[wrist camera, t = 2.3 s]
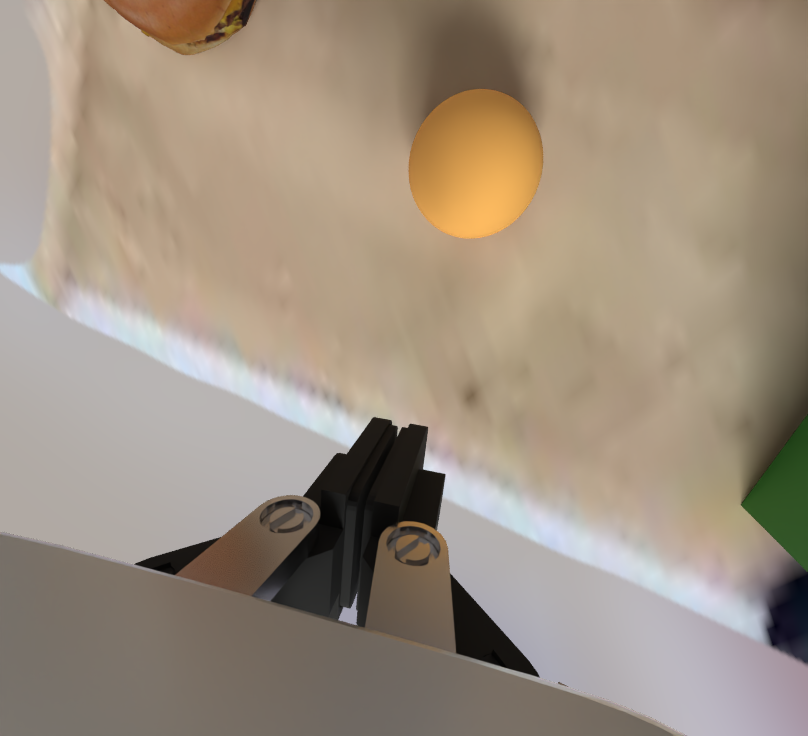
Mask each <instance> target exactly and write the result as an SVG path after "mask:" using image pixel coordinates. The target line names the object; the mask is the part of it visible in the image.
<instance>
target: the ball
mask: <svg viewBox="0 0 808 736" xmlns="http://www.w3.org/2000/svg"><path fill="white" fill-rule="evenodd" d="M542 167H543V147H542V141H541V137H540V133H539V131H538V128H537V126H536V124H535V122H534V120H533V118H532V116H531V115H530V113H529V112H528V111H527V110H526V109H525V107H524V106H523V105H521V104H520V103H519V102H518V101H517V100H515V99H514V98H512V97H511V96H509V95H507V94H504V93H502V92H499V91H495V90H489V89H473V90H468V91H464V92H461V93H458V94H456V95H454V96H452V97H450V98H448V99H446V100H445V101H443V102H442V103H441V104H439V105H438V106H437V107H436V108H435V109H434V110H433V111H432V112H431V113H430V114H429V115H428V117H427V118H426V119H425V121H424V122H423V123H422V125H421V126H420V128H419V130H418V132H417V134H416V136H415V139H414V141H413V144H412V148H411V152H410V158H409V182H410V187H411V192H412V195H413V198H414V200H415V202H416V204H417V206H418V208H419V210H420V211H421V213H422V214H423V215H424V216H425V218H426V219H427V220H428V221H429V222H430V223H431V224H432V225H433V226H435V227H436V228H438V229H439V230H441V231H442V232H444V233H447V234H449V235H452V236H455V237H460V238H481V237H485V236H489V235H492V234H494V233H497V232H499V231H501V230H502V229H504V228H506V227H507V226H509V225H510V224H512V223H513V222H514V221H515V220H516V219H517V218H518V217H519V216H520V215H521V214H522V213H523V212H524V211H525V209H526V208H527V207H528V205H529V204H530V202H531V200H532V199H533V197H534V195H535V193H536V190H537V187H538V185H539V182H540V178H541V174H542Z"/></svg>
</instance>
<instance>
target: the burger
mask: <svg viewBox="0 0 808 736" xmlns="http://www.w3.org/2000/svg"><path fill="white" fill-rule="evenodd" d="M104 1H105V2H106V3H107V4H108V5H109V6H111V7H112V8H113V9H115V10H116V11H117V12H118V13H119V14H120V15H121V16H122V17H124V18H125V19H126V20H128V21H129V22H130V23H132V24H133V25H135V26H136V27H138V28H139V29H141V31H142V32H143V33H144V34H145V35H147V36H148V37H149V36H150V37H152V38H154V39H155V40H156V41H158V42H159V43H161V44H162V45H164V46H166V47H168V48H170V49H172V50H174V51H175V52H177V53H180V54H182V55H193V54H196V53H200V52H203V51H206V50H209V49H211V48H213V47H216V46H218V45H219V44H221V43H223V42H224V41H226V40H228V39H229V38H230V37H231V36H232V35H233V34H235V33H236V32H238V31H239V30H240V29H241V28H243V27H244V26H246V24H247V22H248V19H249V17H250V15H251V13H252V11H253V8H254V5H255V2H256V0H104Z"/></svg>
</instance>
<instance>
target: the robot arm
mask: <svg viewBox="0 0 808 736" xmlns="http://www.w3.org/2000/svg"><path fill="white" fill-rule="evenodd" d="M397 430H398V427H397V426H394V425H392V421H391V420H387V419H381V418H376V417H373V418H372V420H371V421H370V423H369V424H368V425H367V427H366V428H365V430H364V431H363V432H362V434H361V435H360V436H359V438H358V439H357V441H356V442H355V443H354V445H353V446H352V448H351V449H350V450H349V452H348V453H347V454H342V453H337V454H336V455H335V456H334V457H333V459H332V460H331V461H330V462H329V464H328V465H327V466H326V467H325V469H324V470H323V471H322V473H321V474H320V475H319V476H318V478H317V479H316V480H315V482H314V483H313V484H312V485H311V487H310V488H309V489H308V491H307V492H306V493H305V494H304V496H303V497H302V496H295V495H286V496H281V497H276V498H273V499H270V500H268V501H266V502H265V503H263V504H261V505H260V506H259V507H258V508H256V509H255V510H254V511H253V512H251V513H250V514H249V515H248V516H247V517H245V518H244V519H243V520H242V521H241V522H239V523H238V524H237V525H236V526H235V527H233V528H232V529H231V530H229V531H228V532H227V533H226V534H225V535H223V536H222V537H220V538H216V539H213V540H209V541H206V542H202V543H199V544H196V545H192V546H189V547H185V548H182V549H179V550H175V551H172V552H169V553H165V554H162V555H158V556H155V557H151V558H149V559H146V560H143V561H141V562H138V563H136V564H130V563H126V562H123V561H119V560H115V559H111V558H108V557H104V556H100V555H96V554H93V553H88V552H85V551H81V550H77V549H74V548H70V547H66V546H62V545H58V544H53V543H49V542H44V541H40V540H35V539H31V538H27V537H22V536H18V535H14V534H9V533H4V532H0V736H686V735H684V734H682V733H680V732H678V731H676V730H674V729H672V728H671V727H668V726H666V725H665V724H662V723H661V722H659V721H657V720H654V719H653V718H651V717H648V716H646V715H643V714H641V713H639V712H636V711H634V710H631V709H629V708H627V707H624V706H622V705H619V704H617V703H614V702H612V701H609V700H607V699H604V698H600V697H597V696H594V695H591V694H588V693H585V692H582V691H579V690H576V689H573V688H570V687H568V686H566V685H564V684H562V683H560V682H558V684H557V683H554V682H551V681H548V680H545V679H542V678H540V677H539V675H538V673H537V671H536V670H535V669H534V667H533V666H532V664H531V663H530V662H529V660H528V659H527V658H526V657H525V656H524V655H523V654H522V653H521V651H520V650H519V649H518V648H517V647H516V646H515V645H514V644H513V643H512V641H511V640H510V639H509V638H508V637H507V636H506V635H505V634H504V633H503V631H501V629H500V628H499V627H498V626H497V625H496V624H495V623H494V621H493V620H492V619H491V618H490V617H489V616H488V615H487V614H486V613H485V611H484V610H483V609H482V608H481V607H480V606H479V605H478V604H477V603H476V601H474V599H473V598H472V597H471V596H470V595H469V594H468V593H467V592H466V591H465V589H464V588H463V587H462V586H461V585H460V584H459V583H458V581H457V580H456V579H455V578H454V577H453V576H452V575H451V574H450V568H449V555H448V547H447V544H446V541H445V540H444V538H443V536H442V535H441V534H440V533H439V532H437V526H438V520H439V514H440V507H441V502H442V495H443V489H444V482H445V474H442V473H437V472H432V471H427V470H423V464H424V457H425V449H426V442H427V434H428V427H426V426H420V425H415V424H410V425H409V427H408V428H405V427H402V428H401V430H400V432H399V434H398V436H397ZM357 591H358V593H357ZM356 594H357V606H356V609H357V610H358V612H357V625H358V626H357V625H353V624H350V623H346V622H343V621H339V620H338V619H339V616H340V614H341V612H342V609H343V607H347V608H351V606H352V604H353V601H354V599H355V596H356Z"/></svg>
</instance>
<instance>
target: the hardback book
mask: <svg viewBox="0 0 808 736" xmlns="http://www.w3.org/2000/svg"><path fill="white" fill-rule="evenodd" d="M741 506H742V507H743V508H744V509H745V510H746V511H747V512H748V513H749V514H750V515H751V516H752V517H753V518H754V519H755V520H756V521H757V522H758V523H759V524H760V525H761V526H762V527H763V528H764V529H765V530H766V531H767V532H768V533H769V534H770V535H771V536H772V537H773V538H774V539H775V540H776V541H777V542H778V543H779V544H780V545H781V546H782V547H783V548H784V549H785V550H786V551H787V552H788V553H789V554H790V555H791V556H792V557H793V558H794V559H795V560H796V561H797V562H798V563H799V564H800V565H801V566H802V567H803V568H804V569H805V570H806V571H807V572H808V414H807V416H806V417H805V419H804V420H803V421H802V423H801V424H800V425H799V427H798V428H797V429H796V431H795V432H794V433H793V435H792V436H791V438H790V439H789V440H788V442H787V443H786V444H785V446H784V447H783V448H782V450H781V451H780V452H779V454H778V455H777V457H776V458H775V459H774V461H773V462H772V463H771V465H770V466H769V467H768V469H767V470H766V471H765V473H764V474H763V476H762V477H761V478H760V480H759V481H758V482H757V484H756V485H755V486H754V488H753V489H752V490H751V492H750V493H749V495H748V496H747V497H746V499H745V500H744V501H743V503H742V504H741Z"/></svg>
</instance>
